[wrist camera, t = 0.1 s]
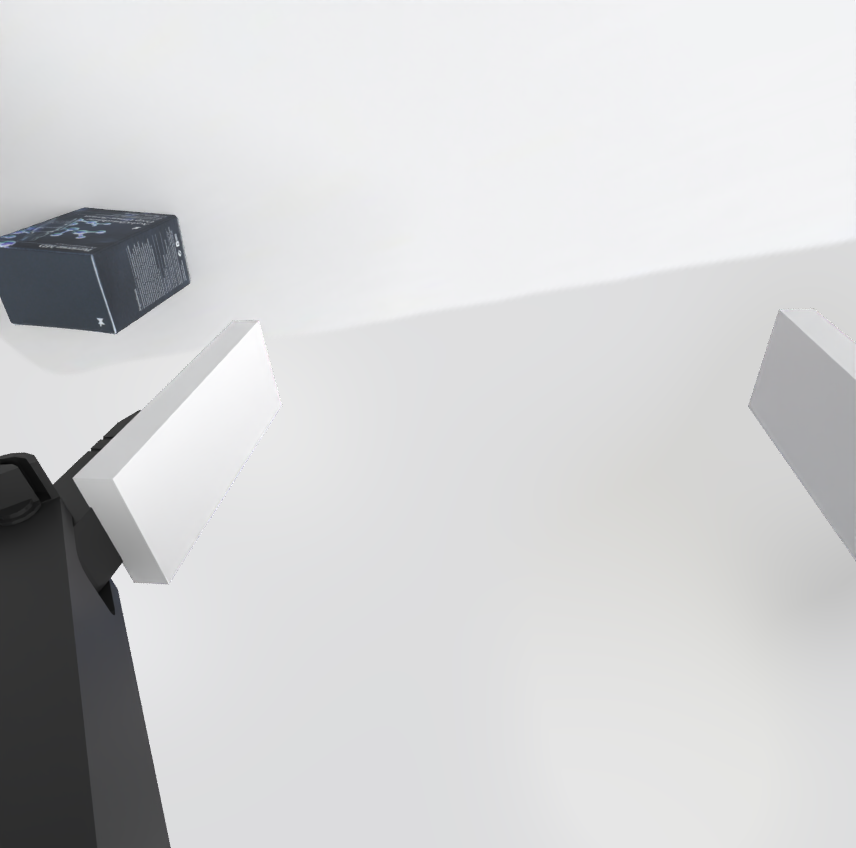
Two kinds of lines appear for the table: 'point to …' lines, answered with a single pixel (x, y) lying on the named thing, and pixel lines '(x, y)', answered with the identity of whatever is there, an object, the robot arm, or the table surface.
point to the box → (91, 269)
